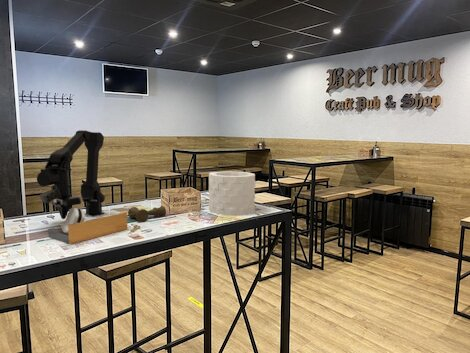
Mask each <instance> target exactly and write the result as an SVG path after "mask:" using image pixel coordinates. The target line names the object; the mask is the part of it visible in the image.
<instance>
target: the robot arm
mask: <svg viewBox="0 0 470 353" xmlns="http://www.w3.org/2000/svg"><path fill="white" fill-rule="evenodd" d="M104 140H105V137H104V135H103V134H102V133H101V132H97V131H96V132H94V131H93V132H92V131H88V130H84V129H83V130H82V129H81V130H80V129H79V130H77V131H75V134H74V135H73V136H72V137H71V138H70V139H69V140H68V141H67V143H66V144H65V145H63V147H62V148H59V149H57V150H55V151H53V152H52V153H51V154H50V155H49V157H48V160H47V162H46V164H45V166H44V168H41V169H40V172H39V173H38V174H37V177H36V182H37V184H38V185H39V186H41V187H48V186H50V189H49V190H46V191H44V192H42V193H40V194H39V198H40V199H41V202H42V203H45V204H50V203H51V204H52V205H53V206H55V207H56V209H57V211H58V213H59V216H60V218H61V219H62V220H64V219H65V220H66V218H67V215H68V213H69V210H70V208H72V206H76V205H81V204H82V202H83V203H86V204H85V212H84V214H85V216H89V217H95V216H96V217H97V216H100V215H104V214H105V212H103V207H102V206H103V204H102V203H104V202H105V199H106V197H105V195H104V194H103V192H102V191H101V190H102V189H101V186H100V183H99V182H98V172H99V155H100V154H99V153H100V151H101V149H102V148H103V146H104ZM83 144H84V147H85V148H86V150H87V155H86V156H87V158H86V173H85V175H86V176H85V181H84V183H81V185H80V191H79V192H80V196H81V198H82V199H81V198H80V197H79V196H73V194H71V193H70V188H71V187H72V185H71V184H70V181H69V178H70V177H69V172H71V171H72V168H71V167H69V165H70V164H71V163H72V161H73V160H74V158H73V155H74V154H75V153H76V152H77V151H78V149H80V147H81V146H82V145H83Z"/></svg>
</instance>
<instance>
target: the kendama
mask: <svg viewBox="0 0 470 353" xmlns="http://www.w3.org/2000/svg"><path fill="white" fill-rule="evenodd" d="M166 215H167V210H166V207H165V206H164V205H160V206H159V207H153V208H152V209H150V210H147V209H145V208H141V209H139V208H138V207H136V206H131V207H130V208H129V209H128V211H127V218H129V219H131V220H133V219H136V221H137V222H139V223H144V222H147V220H148V218H149V216H153V217H158V216H162V217H165V216H166Z"/></svg>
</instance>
